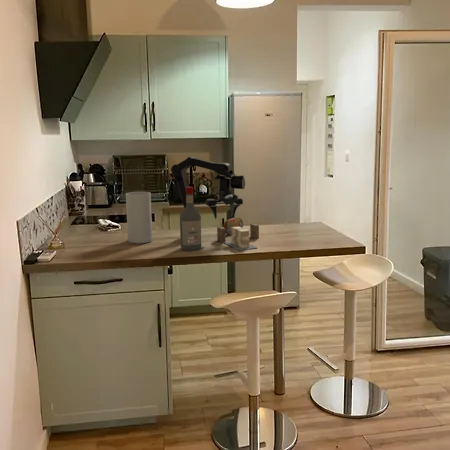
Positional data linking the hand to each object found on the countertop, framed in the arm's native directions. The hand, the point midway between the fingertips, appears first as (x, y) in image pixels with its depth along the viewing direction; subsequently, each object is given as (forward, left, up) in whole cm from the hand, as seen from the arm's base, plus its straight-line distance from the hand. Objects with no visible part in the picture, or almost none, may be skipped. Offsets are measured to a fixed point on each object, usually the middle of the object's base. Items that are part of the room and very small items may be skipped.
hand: (224, 218), depth 270 cm
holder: (+7, -2, -12) cm, 14 cm away
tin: (+11, +13, -12) cm, 21 cm away
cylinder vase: (-40, +17, -12) cm, 45 cm away
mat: (+2, -15, -12) cm, 19 cm away
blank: (+2, -15, -11) cm, 18 cm away
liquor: (-22, -10, -12) cm, 27 cm away
